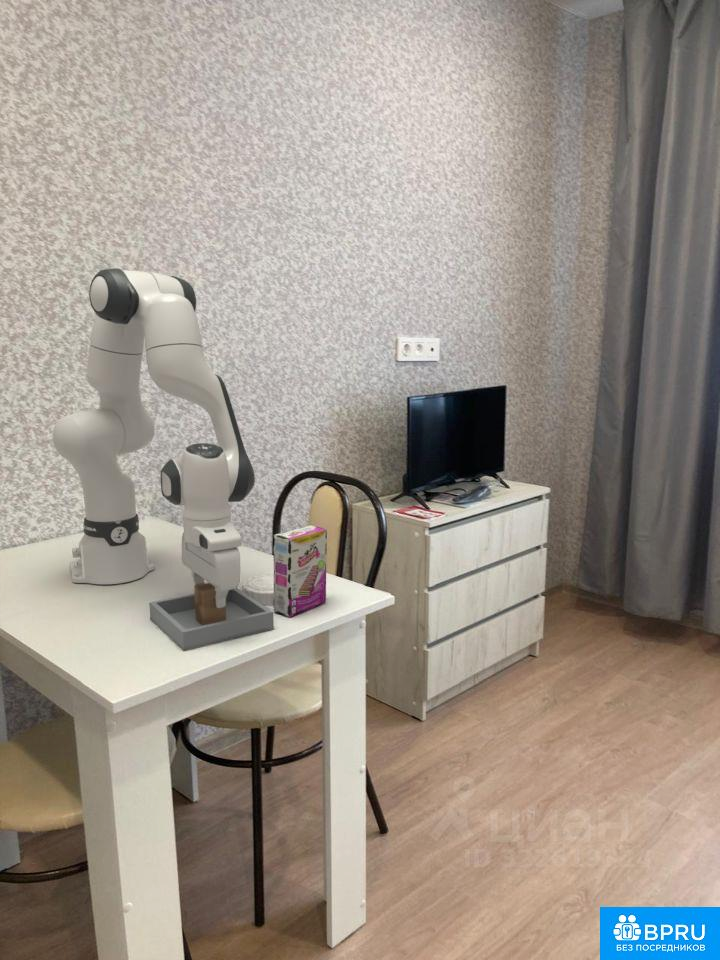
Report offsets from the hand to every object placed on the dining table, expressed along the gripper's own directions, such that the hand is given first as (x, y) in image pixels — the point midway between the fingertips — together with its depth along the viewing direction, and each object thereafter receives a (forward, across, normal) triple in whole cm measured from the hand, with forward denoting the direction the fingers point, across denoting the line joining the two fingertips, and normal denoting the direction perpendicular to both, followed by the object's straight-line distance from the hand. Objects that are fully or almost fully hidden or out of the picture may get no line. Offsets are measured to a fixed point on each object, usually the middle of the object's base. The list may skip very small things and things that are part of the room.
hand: (210, 599), depth 144 cm
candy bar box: (+5, +2, +19) cm, 20 cm away
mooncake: (+6, -8, +17) cm, 20 cm away
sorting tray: (+5, 0, 0) cm, 5 cm away
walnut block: (+4, 0, 0) cm, 4 cm away
